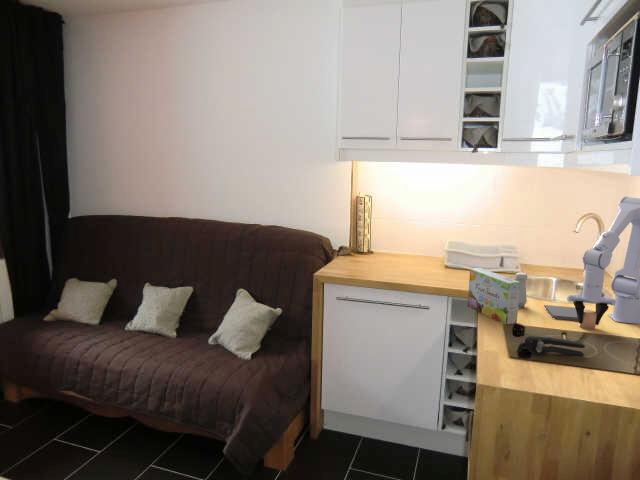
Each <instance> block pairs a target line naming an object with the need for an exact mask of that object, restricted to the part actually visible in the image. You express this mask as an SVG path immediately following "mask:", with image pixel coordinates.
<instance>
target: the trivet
mask: <svg viewBox="0 0 640 480" xmlns="http://www.w3.org/2000/svg"><path fill="white" fill-rule="evenodd" d="M544 307H545V308H546V310H547V311H548V312H549V313H548V312H547V311H546V310H545V311H546V312H547V313H548V314H550V315H551V316H552V317H551V316H550V315H549V316H550V317H551V319H553V318H557V319H556V320H562V319H566V320H565V321H573V322H574V321H575V322H576V321H577V322H578V317H577V312H576V308H575V306H573V307H572V306H560V305H552V304H551V305H549V304H544V305H543V308H544Z"/></svg>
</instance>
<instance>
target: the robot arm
mask: <svg viewBox="0 0 640 480" xmlns="http://www.w3.org/2000/svg"><path fill="white" fill-rule="evenodd" d="M630 223H631V228H630V229H631V230H630V234H629V239H628V242H627V244H628V245H627V249H626V252H625V253H626V254H625V257H624V262H623V267H622V268H620V269H618V270H616V271H615V272H614V275H613V277H612V279H611V282H610V288H611V290H612V291H613V294H614V297H613V298H612V297H605V296H603V295H602V294H603V286H604V280H605V275H606V274H605V272H606V269H607V267H609V265H610V264H611V261H612V257H613V252H614V250H615V249H616V248H617V247H618V245H619V243H620V242H621V239H620V237H619V236H621V234H622V233H623V232H624V231H625V229H626V228H627V227H628V226H629V224H630ZM582 263H583V270H584V276H583V277H584V278H583V284H582V285H583V286H582V293H581V294H567V297H566V301H568V303H572V302H573V305H574V307H575V308H576V312H577V317H578V321H577V322H578V324H579V325H580V324H582V319H583V312H584V310H585V308H586V305H585V304H587V303H588V304H595V312H597V318H596V326H599V325H600V322H601V319H602V318H603V316H604V315H605V313H607V311H608V310H609V306H610V305H611V306H613V309H612V313H607V315H608V317H610V318H611V319H612V320H613V321H615V322H617V323H628V324H638V325H640V198H639V197H630V196H623V197H622V198H621V199H620V200H619V202H618V204H617V214H616V216H615V217H614V220H613V221H612V224H611V225H610V226H609V228H608V230H607V231H604V232H602V233H601V235H600V236H599V237H598V239H597V240H596V242H595V243H594V245H593V247H592V248H590V249H587V250H586V251H585V252H584V254H583V256H582Z"/></svg>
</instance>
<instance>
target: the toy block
mask: <svg viewBox="0 0 640 480" xmlns="http://www.w3.org/2000/svg"><path fill="white" fill-rule="evenodd" d="M596 318H597V312H596V310H595V311H594V310H590V309H584V312H583V319H582V324H580V323H579V327H580V328H582V329H584V330H587V331H588V330H589V331H592V330H596V326H597V325H596Z"/></svg>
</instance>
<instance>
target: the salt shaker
mask: <svg viewBox="0 0 640 480" xmlns="http://www.w3.org/2000/svg"><path fill="white" fill-rule="evenodd" d="M514 277H515V279H516V281H518V282H520V293H519V303H518V309H519V308H521V309H522V308H524V307H525V306H526V304H527V302H528V301H527V288H526V281H527V280H528V274H527V273H525V272H516V273H515V276H514Z"/></svg>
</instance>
